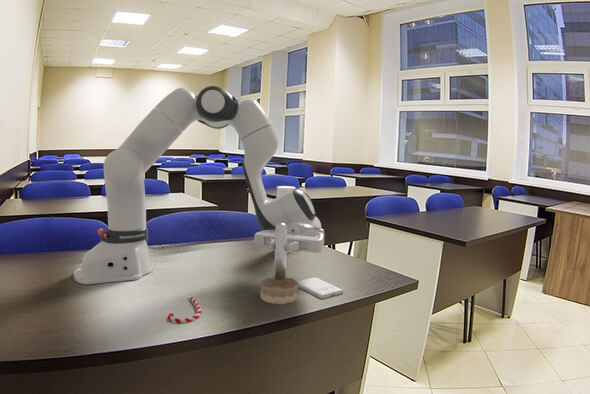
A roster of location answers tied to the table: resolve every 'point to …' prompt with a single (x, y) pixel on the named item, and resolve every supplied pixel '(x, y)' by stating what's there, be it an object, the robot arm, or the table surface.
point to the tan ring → (279, 290)
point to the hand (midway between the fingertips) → (279, 247)
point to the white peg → (280, 251)
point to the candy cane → (190, 319)
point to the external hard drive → (319, 287)
